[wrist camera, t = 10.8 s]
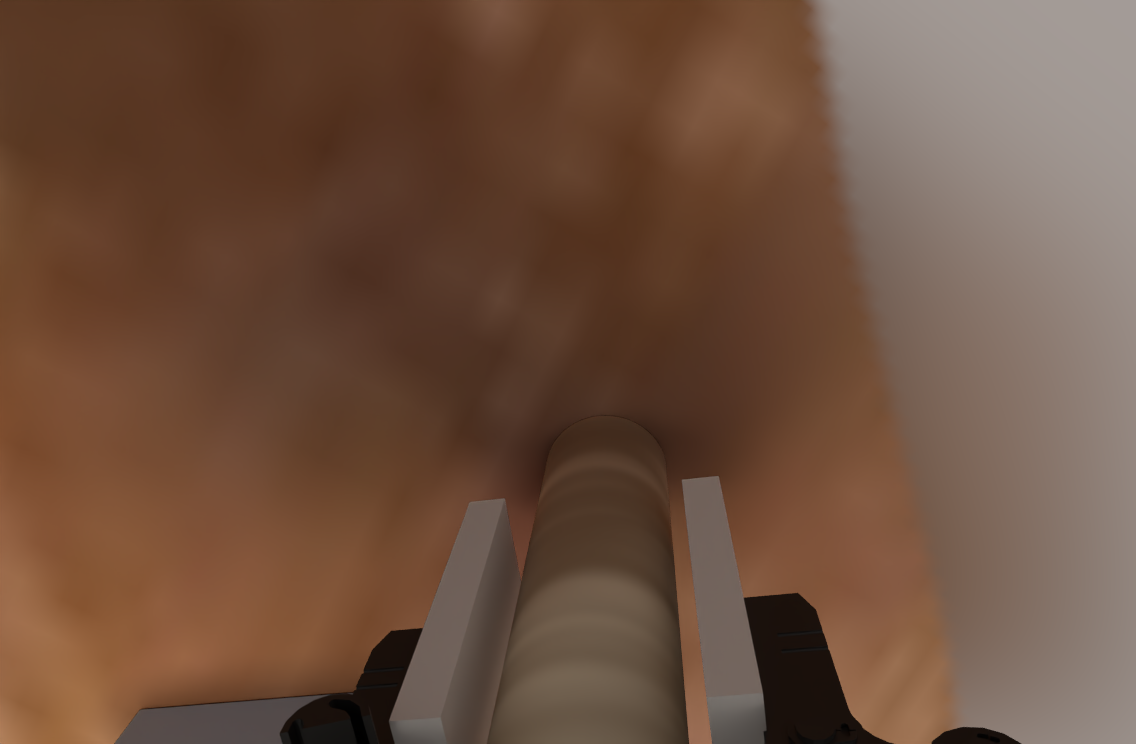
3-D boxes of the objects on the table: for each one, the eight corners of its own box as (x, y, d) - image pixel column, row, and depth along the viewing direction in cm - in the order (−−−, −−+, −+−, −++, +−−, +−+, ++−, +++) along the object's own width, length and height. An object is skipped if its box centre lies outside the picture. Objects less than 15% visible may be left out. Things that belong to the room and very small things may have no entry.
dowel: (537, 423, 22) (389, 988, 8) (658, 409, 21) (701, 975, 8) (556, 529, 23) (449, 1186, 9) (673, 518, 22) (731, 1182, 9)
